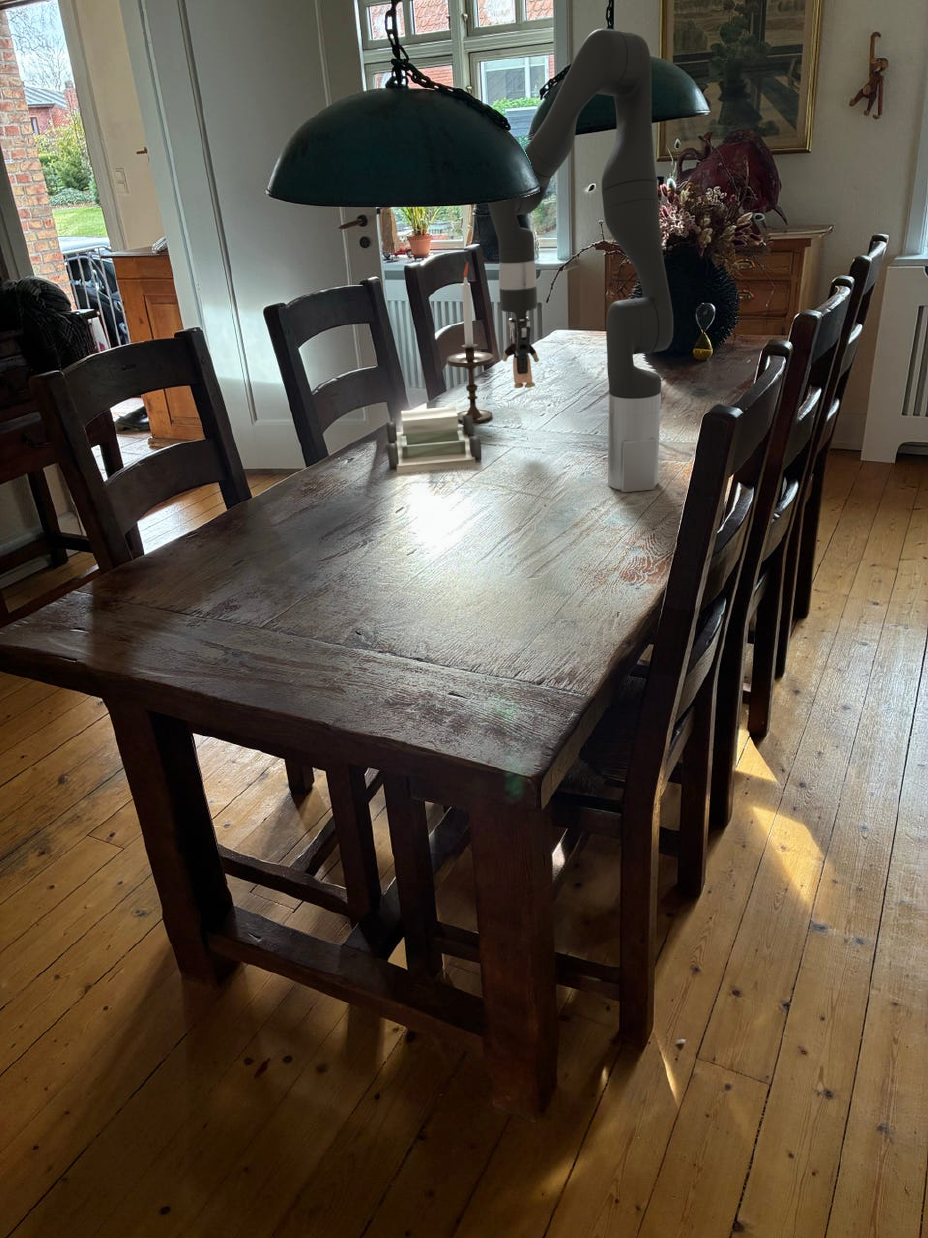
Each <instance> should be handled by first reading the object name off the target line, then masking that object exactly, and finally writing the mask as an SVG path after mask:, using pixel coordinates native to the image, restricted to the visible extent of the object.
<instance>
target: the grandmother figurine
mask: <svg viewBox="0 0 928 1238" xmlns="http://www.w3.org/2000/svg"><path fill="white" fill-rule="evenodd" d="M511 336H512V335H511ZM515 336H516V335H515ZM516 339H517V338H516ZM520 348H525V344H522V345H520ZM515 352H516V348H515V344H511V343H510V345H508V346H507V348H506V349H505V350H504V351H503V357H502V361H503V362H507V361H508V359H509V357H510V356H513V359H512V371H513V381H514V385H513V387H514V389H520V388H523V387H524V388H526V389H527V388H528V389H529V388H534V387H535V386H536V383H535V382H534V381H533V375H532V367H531V366H532V365H531V358H530V355H531V357H532V359H533V361H534V362H535V363H538V362H540V358H539V357H538V354H537V351H536V350H535V348H534V347H533V345H531V344H530V352H529V353H528V355H527V360H528V372H527V373H526V374H518V373H517V361H516V354H515ZM529 354H530V355H529ZM524 383H526V384H524Z"/></svg>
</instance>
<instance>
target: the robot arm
mask: <svg viewBox="0 0 928 1238" xmlns="http://www.w3.org/2000/svg"><path fill="white" fill-rule="evenodd" d="M597 94H598V95H604V96H613V99H614V104H615V113H616V114H615V115H616V134H615V138H614V143H613V145H612V148H611V150H610V152H609V155H608V158H607V161H606V163H605V167H604V169H603V172H602V173H603V174H602V178H601V196H602V206H603V214H604V215H603V216H604V222H605V224H606V228H607V229H608V231H609V232H610V233H609V234H611V236H612V237H613V239H614V240H615V241H614V242H616V244H618V246H619V248H620V249H621V250H622V251H623V253H624V254H625V255H626V256H627V258H628V259H629V261H630V262H631V264H632V266H633V267H634V269H635V272H636V273H637V274H636V275H637V276H638V278H639V282H640V287H641V291H642V297H638V298H637V297H636V298H630V299H621V300H616V301H614V302H612V303H611V304H610V306H609V308H608V310H607V313H606V320H605V336H606V357H607V358H606V361H607V362H606V364H607V371H606V372H607V379H608V431H607V432H608V433H607V434H608V438H607V439H608V440H607V445H608V446H607V484H608V486H609V487H611V488H612V489H615V490H618V491H621V492H622V493H631V492H641V491H651V490H652V491H653V490H655V489H656V486H657V485H658V481H659V479H658V478H659V453H660V451H659V450H660V430H661V429H660V425H661V402H662V401H661V399H662V397H661V396H662V378H661V376H660V375H659V373H656V372H654V371H651V370H646V369H642V368H640V367H637V366H635V363H634V355H641V354H648V353H657V352H662V351H666V350H667V349H668V348H669V347H670V345H671V343H672V342H673V337H674V314H673V306H672V300H671V299H672V298H671V294H670V288H669V283H668V277H667V271H666V266H665V260H664V254H663V244H662V243H663V242H662V233H661V220H660V217H661V216H660V202H659V201H660V199H659V191H658V180H657V174H656V166H655V156H654V141H653V139H654V138H653V125H652V123H653V122H652V61H651V53H650V49H649V46H648V43H647V42H646V40H645V39H644V37H642V36H641V35H639V34H637V33H633V32H628V31H623V30H618V29H612V28H598V29H595V30H594V31H592V32H591V33H590V34H589V35H588V36H587V37H586V38H585V39H584V41H583V42H582V44H581V45H580V47H579V49H578V51H577V53H576V55H575V57H574V59H573V61H572V63H571V65H570V67H569V70H568V72H567V73H566V75H565V78H564V80H563V82H562V83H561V86H560V88H559V90H558V92H557V94H556V96H555V98H554V101H553V102H552V105H551V107H550V109H549V111H548V113H547V114H546V116H545V118H544V120H543V121H542V124H540V126H539V127H538V129H537V131H535V133H534V135H533V136H532V138H531V139H530V140H529V142H528V144H526V146H525V148H524V149H523V151H524V150H525V152H526V154H527V156H528V158H529V160H530V162H531V166H532V169H533V171H534V174H535V176H536V178H537V180H538V182H539V184H540V192H538V193H536V194H533V195H530V196H527V197H523V198H518V199H513V200H507V201H502V202H495V203H488V202H487V204H488V210H489V214H490V217H491V220H492V223H493V227H494V230H495V234H496V236H497V241H498V256H499V257H498V259H499V263H498V265H499V266H498V286H499V308H500V310H501V312H506V313H511V315H510V316H511V317H510V318H508V326H509V339H510V345H511V344H515V348H516V352H515V354H516V361H517V373H518V374H526V373H527V372H528V360H527V355H529V354H530V353H529V352H530V345H531V344H530V343H531V331H532V330H531V320H530V319H529V317H528V316H527V312H528V311H534V310H536V309H537V307H538V291H537V269H536V263H535V238H534V233H533V231H532V230H531V229H529V228H525V227H521V226H520V223H519V220H518V217H517V216H520V215H528V214H530V213H532V212H533V211H535V210H536V209H537V208H538V207H540V205H541V204H542V202H543V199H544V197H545V195H546V191H547V190H548V187H549V185H550V182H551V179H552V177H553V176H554V175H555V174H556V172H557V171H558V170H559V169H560V167H561V166H562V165H563V164H564V162H565V161H566V159H567V157H569V154H570V153H571V151H572V148H573V145H574V143H575V139H576V138H575V137H576V130H577V124H578V123H577V122H578V118H579V116H580V113H581V112H582V110H583V109H584V107H585V106H586V105H587V104H588V103H589V101H591V99H593V97H595V96H596V95H597ZM511 335H512V336H511ZM515 335H516V336H515ZM516 338H517V339H516ZM522 344H525V348H520V345H522Z"/></svg>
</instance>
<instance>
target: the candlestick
mask: <svg viewBox="0 0 928 1238" xmlns="http://www.w3.org/2000/svg"><path fill="white" fill-rule="evenodd" d="M468 271H469V262H468V261H467V262H466V264H465V267H464V271H463V283H461V296H462V298H461V299H462V314H463V328H464V330H463V331H464V342H465V343H464V344H462V345H460V347H461V348H464V350H465V351H464V352H460V353H455V354H451V355H449V356H447V358H446V365H448V366H450V367H454V368H465V369H467V372H468V373H467V378H468V384H467V385H466V386H465V390H466V391H467V392H468V396H467V397H466V399H467V400H469V407H468V410H464V411H460V412H457V415H458V424H462V425H463V416H466V415H472V417H473V425H478V424H484V423H488V422H490V421H491V420H493V418H494V416H493V415H494V414H493V412H491V411H489V410H484V409H478V407H477V403H476V400H477V399H478V397H479V396H478V395H476V394H477V393H476V391H477V390H478V388H479V386H478V385H477V384H476V383H475V370H474V369H476V368H477V367H482V366H487V365H490V364H492V363H493V362H494V359H495V356H494V354H492V353H489V352H483V351H475V347H476V348H477V347H478V346H479V345H478V344H477V343H474V333H473V332H474V331H473V330H474V329H473V319H472V318H473V317H472V316H473V315H472V314H473V313H472V296H471V283H469V281H468V277H467V275H468Z"/></svg>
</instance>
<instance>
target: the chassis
mask: <svg viewBox="0 0 928 1238" xmlns="http://www.w3.org/2000/svg"><path fill="white" fill-rule="evenodd" d="M400 413H401V423H402V431H397V424H396V421H386V435H387V444H386V445H387V457H388V459H387V460H388V466H389V469H396V472H397V474H404V473H405V474H406V473H417V472H428V471H429V472H430V471H438V470H449V469H460V468H461V469H463V468H473V467H476V462H477V461H482V444H481V438H480V435H475V427H474V425H475V424H473V417H472V415H466V416H463V424H462V426H459V423H458V415H457V413H458V411H457V409H456V406H446V407H445V406H444V407H435V408H434V407H433V408H422V409H411V410H410V409H409V410H401V411H400Z"/></svg>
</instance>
